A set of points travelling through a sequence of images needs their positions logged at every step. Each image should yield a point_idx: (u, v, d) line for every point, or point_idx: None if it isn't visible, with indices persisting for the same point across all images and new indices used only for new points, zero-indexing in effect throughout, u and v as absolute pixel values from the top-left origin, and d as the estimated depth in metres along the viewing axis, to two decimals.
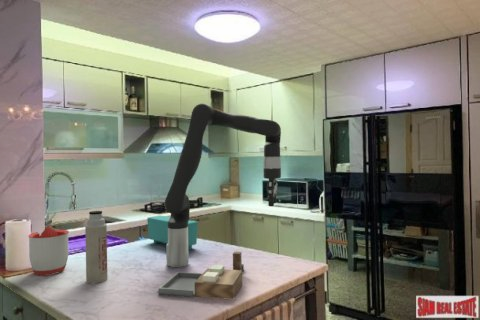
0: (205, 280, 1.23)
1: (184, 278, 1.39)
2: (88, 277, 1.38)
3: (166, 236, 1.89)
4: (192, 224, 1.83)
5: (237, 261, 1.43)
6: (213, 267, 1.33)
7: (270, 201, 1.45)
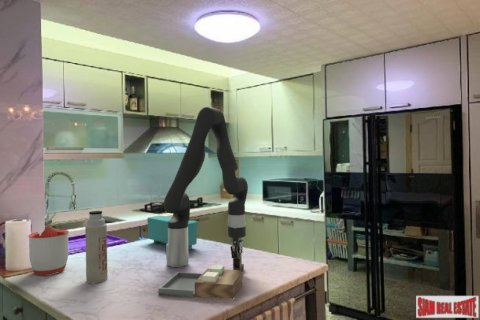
0: (205, 280, 1.23)
1: (184, 278, 1.39)
2: (88, 277, 1.38)
3: (166, 236, 1.89)
4: (192, 224, 1.83)
5: None
6: (213, 267, 1.33)
7: (235, 263, 1.42)
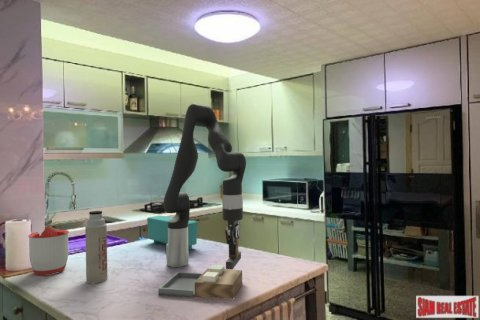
0: (205, 280, 1.23)
1: (184, 278, 1.39)
2: (88, 277, 1.38)
3: (166, 236, 1.89)
4: (192, 224, 1.83)
5: None
6: (213, 267, 1.33)
7: (231, 249, 1.25)
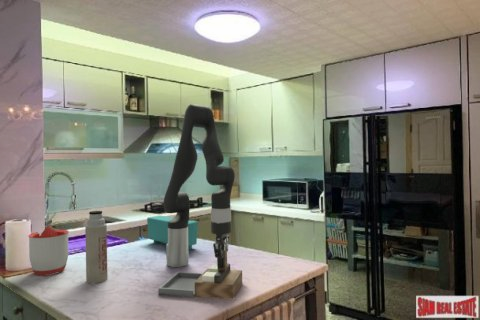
0: (205, 280, 1.23)
1: (184, 278, 1.39)
2: (88, 277, 1.38)
3: (166, 236, 1.89)
4: (192, 224, 1.83)
5: None
6: (213, 267, 1.33)
7: (219, 262, 1.26)
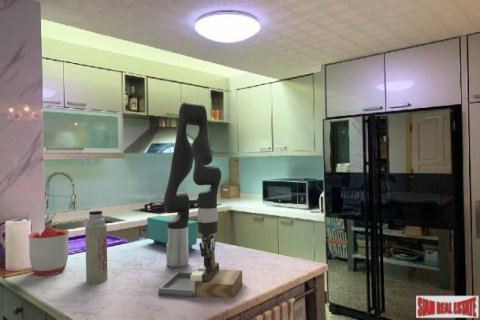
0: (192, 279, 1.24)
1: (184, 278, 1.39)
2: (88, 277, 1.38)
3: (166, 236, 1.89)
4: (192, 224, 1.83)
5: (210, 259, 1.28)
6: (201, 267, 1.34)
7: (205, 262, 1.27)
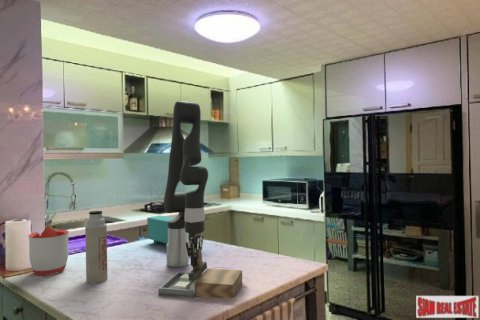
0: (183, 287, 1.25)
1: None
2: (88, 277, 1.38)
3: (166, 236, 1.89)
4: None
5: None
6: None
7: (192, 261, 1.28)
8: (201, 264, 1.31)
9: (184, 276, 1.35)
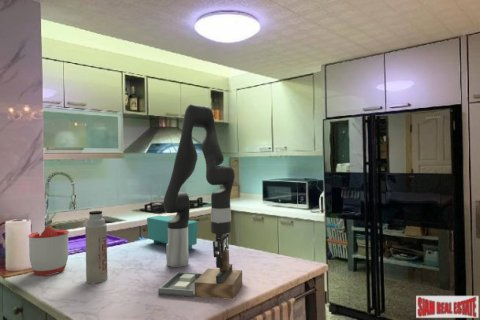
0: (183, 287, 1.25)
1: None
2: (88, 277, 1.38)
3: (166, 236, 1.89)
4: (192, 224, 1.83)
5: (224, 261, 1.27)
6: None
7: (218, 262, 1.25)
8: (228, 267, 1.28)
9: (184, 276, 1.35)
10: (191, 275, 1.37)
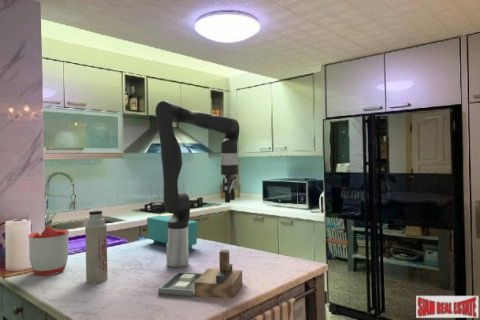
0: (183, 287, 1.25)
1: None
2: (88, 277, 1.38)
3: (166, 236, 1.89)
4: (192, 224, 1.83)
5: (224, 261, 1.27)
6: None
7: (226, 197, 1.45)
8: (228, 267, 1.28)
9: (184, 276, 1.35)
10: (191, 275, 1.37)
